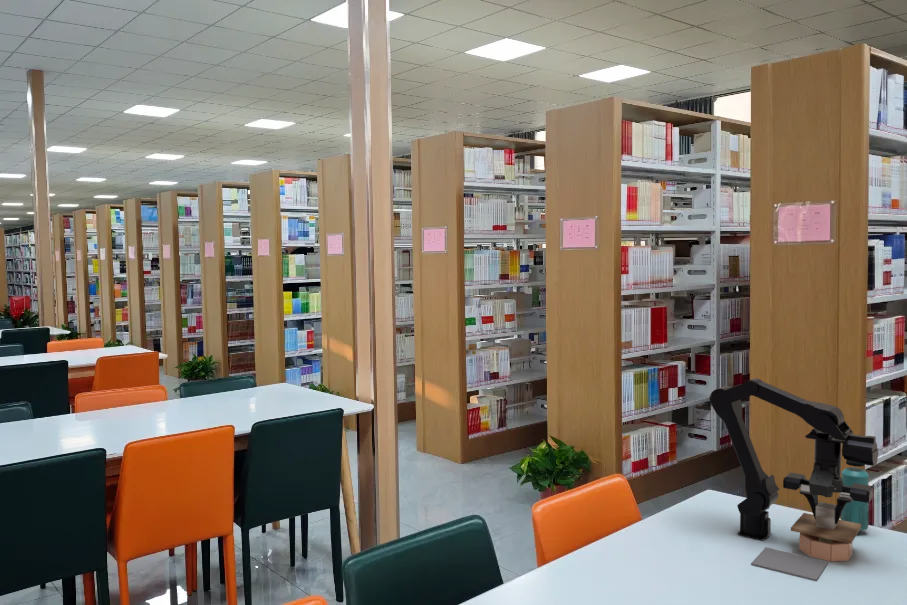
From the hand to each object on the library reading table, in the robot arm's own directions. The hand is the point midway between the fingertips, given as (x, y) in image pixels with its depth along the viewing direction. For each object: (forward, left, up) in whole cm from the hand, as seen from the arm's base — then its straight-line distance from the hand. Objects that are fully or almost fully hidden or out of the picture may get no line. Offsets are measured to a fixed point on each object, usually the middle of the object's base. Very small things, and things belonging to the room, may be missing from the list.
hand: (826, 521), depth 172 cm
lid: (0, 0, -2) cm, 2 cm away
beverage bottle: (+3, +19, -8) cm, 21 cm away
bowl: (0, 0, -8) cm, 8 cm away
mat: (-5, -13, -8) cm, 16 cm away
